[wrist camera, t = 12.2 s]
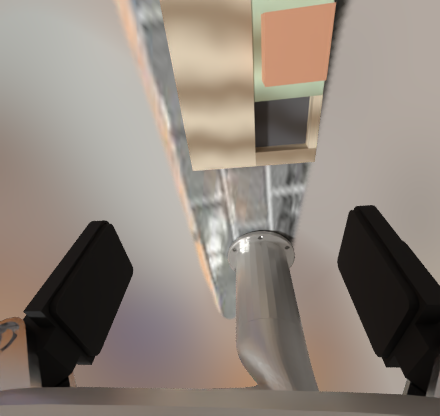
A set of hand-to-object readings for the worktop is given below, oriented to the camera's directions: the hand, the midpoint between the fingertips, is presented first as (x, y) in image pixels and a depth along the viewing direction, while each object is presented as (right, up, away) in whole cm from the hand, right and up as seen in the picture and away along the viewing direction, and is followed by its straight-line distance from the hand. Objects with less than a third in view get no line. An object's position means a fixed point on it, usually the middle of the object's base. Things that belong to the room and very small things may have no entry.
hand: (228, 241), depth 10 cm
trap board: (+3, +19, +18) cm, 27 cm away
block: (+7, +19, +16) cm, 26 cm away
